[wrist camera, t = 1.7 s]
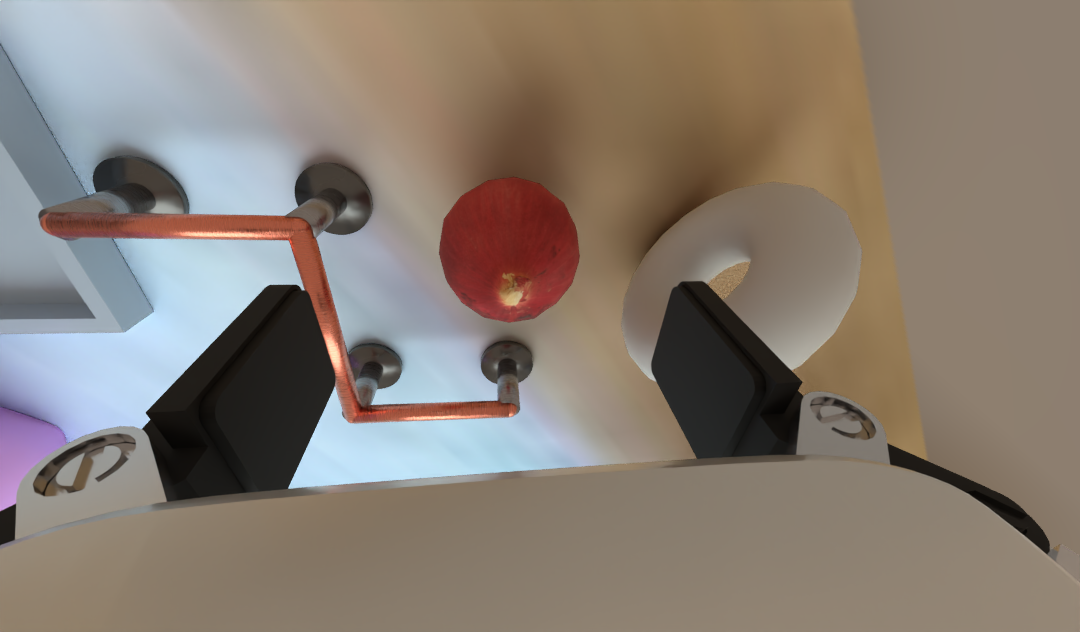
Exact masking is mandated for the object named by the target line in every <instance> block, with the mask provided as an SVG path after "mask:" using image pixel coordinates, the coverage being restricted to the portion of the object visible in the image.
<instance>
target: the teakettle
mask: <svg viewBox="0 0 1080 632" xmlns="http://www.w3.org/2000/svg"><path fill="white" fill-rule="evenodd" d="M65 444H67V442H66V438H65V435H64V433H63V432H62V430H61V429H59V428H58V427H56V426H54V425H52V424H49V423H47V422H45V421H42V420H39V419H36V418H33V417H30V416H27V415H25V414H22V413H19V412H16V411H13V410H9V409H6V408H3V407H0V511H1V510H4V509H6V508H8V507H10V506H12V505H14V504H16V496H17V490H18V488H19V485H20V482H21V480H22V479H23V478H24V477H25V476H26V474H27V473H28V472H29V471H30V469H31V468H33V467H34V466H35V465H36V464H37V463H39V462H40V461H41V460H42V459H43V458H45V457H46V456H47V455H49V454H51V453H52V452H54V451H55V450H57V449H59V448H60V447H62V446H64V445H65Z"/></svg>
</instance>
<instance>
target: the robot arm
mask: <svg viewBox="0 0 1080 632" xmlns="http://www.w3.org/2000/svg"><path fill="white" fill-rule="evenodd" d="M651 370H652V374H653V376H654V378H655V380H656V382H657V383H658V385H659V387H660V389H661V391H662V393H663V395H664V397H665V399H666V400H667V402H668V404H669V406H670V408H671V410H672V412H673V414H674V416H675V417H676V419H677V421H678V423H679V425H680V427H681V429H682V431H683V433H684V434H685V436H686V438H687V440H688V442H689V444H690V446H691V448H692V450H693V452H694V453H695V455H696V457H697V459H689V460H674V461H659V462H644V463H629V464H614V465H599V466H585V467H570V468H556V469H542V470H528V471H514V472H501V473H487V474H473V475H460V476H446V477H433V478H420V479H407V480H394V481H381V482H368V483H355V484H343V485H330V486H317V487H304V488H294V489H288V487H289V485H290V483H291V481H292V478H293V476H294V474H295V472H296V470H297V467H298V465H299V463H300V461H301V459H302V457H303V454H304V452H305V450H306V448H307V446H308V444H309V441H310V439H311V437H312V435H313V433H314V431H315V428H316V426H317V424H318V422H319V420H320V417H321V415H322V413H323V411H324V409H325V407H326V404H327V402H328V400H329V398H330V396H331V394H332V391H333V389H334V387H335V382H336V375H335V371H334V368H333V365H332V362H331V359H330V356H329V353H328V350H327V347H326V343H325V340H324V337H323V334H322V331H321V328H320V325H319V322H318V319H317V316H316V313H315V310H314V307H313V303H312V300H311V297H310V295H309V293H308V292H307V291H302V290H301V288H300V287H299V286H297V285H269V286H267V287H266V288H265V289H264V290H263V291H262V292H261V293H260V294H259V295H258V296H257V297H256V298H255V299H254V300H253V301H252V302H251V303H250V304H249V305H248V306H247V308H246V309H245V310H244V311H243V312H242V313H241V314H240V315H239V316H238V317H237V318H236V319H235V320H234V321H233V322H232V323H231V324H230V325H229V326H228V327H227V328H226V329H225V330H224V331H223V333H222V334H221V335H220V336H219V337H218V338H217V339H216V340H215V341H214V342H213V343H212V344H211V345H210V346H209V347H208V348H207V349H206V350H205V351H204V352H203V353H202V354H201V355H200V356H199V358H198V359H197V360H196V361H195V362H194V363H193V364H192V365H191V366H190V367H189V368H188V369H187V370H186V371H185V372H184V373H183V374H182V375H181V376H180V377H179V378H178V379H177V380H176V381H175V383H174V384H173V385H172V386H171V387H170V388H169V389H168V390H167V391H166V392H165V393H164V394H163V395H162V396H161V397H160V398H159V399H158V400H157V401H156V402H155V403H154V404H153V405H152V406H151V408H150V409H149V410H148V411H147V412H146V414H147V415H148V417H149V418H150V419H151V420H150V421H149V422H148V423H147V424H146V425H145V426H144V427H143V428H142V429H139V428H136V427H128V426H119V427H114V428H108V429H103V430H100V431H97V432H94V433H91V434H88V435H85V436H82V437H80V438H78V439H76V440H74V441H72V442H70V443H67V444H65V445H64V446H62V447H60V448H59V449H57V450H55V451H54V452H52V453H51V454H49V455H47V456H46V457H45V458H43V459H42V460H41V461H40V462H39V463H37V464H36V465H35V466H34V467H33V468H31V469H30V471H29V472H28V473H27V474H26V476H25V477H24V478H23V479H22V480H21V482H20V485H19V488H18V490H17V496H16V504H14V505H12V506H10V507H8V508H6V509H4V510H1V511H0V632H1080V555H1078V554H1077V553H1075V552H1073V551H1072V550H1070V549H1068V548H1067V547H1065V546H1063V545H1062V544H1059V545H1058V546H1056V547H1054V548H1051V547H1050V544H1049V541H1048V539H1047V537H1046V535H1045V533H1044V532H1043V530H1042V529H1041V528H1040V526H1039V525H1038V524H1037V523H1036V522H1035V521H1034V520H1033V519H1032V518H1031V517H1030V516H1029V515H1028V514H1027V513H1026V512H1025V511H1024V510H1023V509H1022V508H1021V507H1020V506H1019V505H1017V504H1016V503H1015V502H1014V501H1012V500H1011V499H1009V498H1008V497H1006V496H1004V495H1002V494H1000V493H998V492H996V491H993V490H991V489H989V488H987V487H985V486H982V485H980V484H978V483H976V482H974V481H971V480H969V479H967V478H965V477H962V476H960V475H958V474H956V473H953V472H951V471H949V470H946V469H944V468H942V467H940V466H937V465H935V464H933V463H930V462H928V461H926V460H924V459H922V458H919V457H917V456H915V455H912V454H910V453H908V452H906V451H903V450H901V449H899V448H897V447H894V446H892V445H890V444H887V439H886V433H885V431H884V428H883V426H882V424H881V423H880V422H879V421H878V419H877V418H876V417H875V416H874V415H873V414H871V413H870V412H869V411H868V410H867V409H865V408H864V407H862V406H860V405H859V404H857V403H856V402H854V401H852V400H850V399H847V398H845V397H843V396H840V395H837V394H833V393H830V392H821V391H816V392H810V393H808V394H806V395H804V397H803V395H802V394H801V393H800V392H799V391H798V389H799V387H800V385H801V384H802V381H801V380H800V379H799V378H798V377H797V376H796V375H795V374H794V373H793V372H792V371H791V370H790V369H789V368H788V367H787V366H786V365H785V364H784V363H783V362H782V361H781V360H780V358H779V357H778V356H777V355H776V354H775V353H774V352H773V351H772V350H771V349H770V348H769V347H768V346H767V345H766V344H765V343H764V342H763V341H762V340H761V339H760V338H759V337H758V336H757V335H756V334H755V333H754V332H753V331H752V330H751V329H750V328H749V327H748V326H747V325H746V324H745V323H744V322H743V321H742V320H741V319H740V318H739V317H738V316H737V315H736V314H735V313H734V311H733V310H732V309H731V308H730V307H729V306H728V305H727V304H726V303H725V302H724V301H723V300H722V299H721V298H720V297H719V296H718V295H717V294H716V293H715V292H714V291H713V290H712V289H711V288H710V287H709V286H708V285H707V284H706V283H705V282H703V281H682V282H680V283H679V284H678V286H677V287H673V289H672V291H671V294H670V297H669V301H668V304H667V308H666V311H665V315H664V319H663V322H662V326H661V329H660V333H659V336H658V340H657V343H656V347H655V350H654V354H653V357H652V361H651Z"/></svg>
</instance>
